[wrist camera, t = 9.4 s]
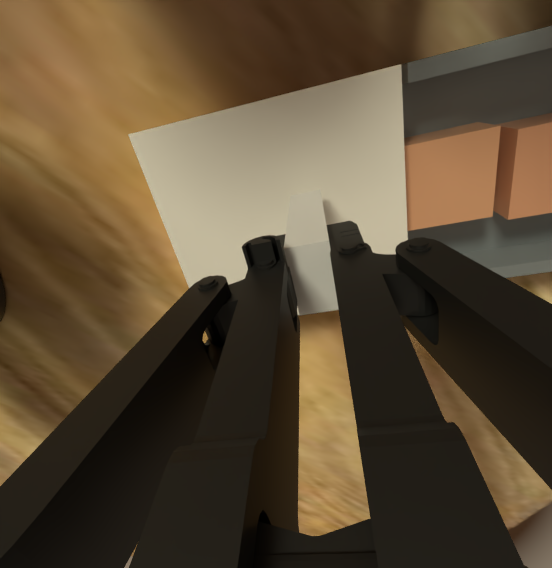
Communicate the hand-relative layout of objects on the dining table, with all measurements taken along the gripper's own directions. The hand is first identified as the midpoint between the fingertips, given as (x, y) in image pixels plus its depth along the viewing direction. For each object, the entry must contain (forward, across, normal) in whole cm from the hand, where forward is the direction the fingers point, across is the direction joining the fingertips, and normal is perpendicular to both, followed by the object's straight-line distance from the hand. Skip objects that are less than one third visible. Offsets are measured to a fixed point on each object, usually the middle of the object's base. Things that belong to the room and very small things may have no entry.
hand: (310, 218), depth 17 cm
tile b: (+2, +12, 0) cm, 13 cm away
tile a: (+4, +7, 0) cm, 8 cm away
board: (+5, -2, 0) cm, 5 cm away
